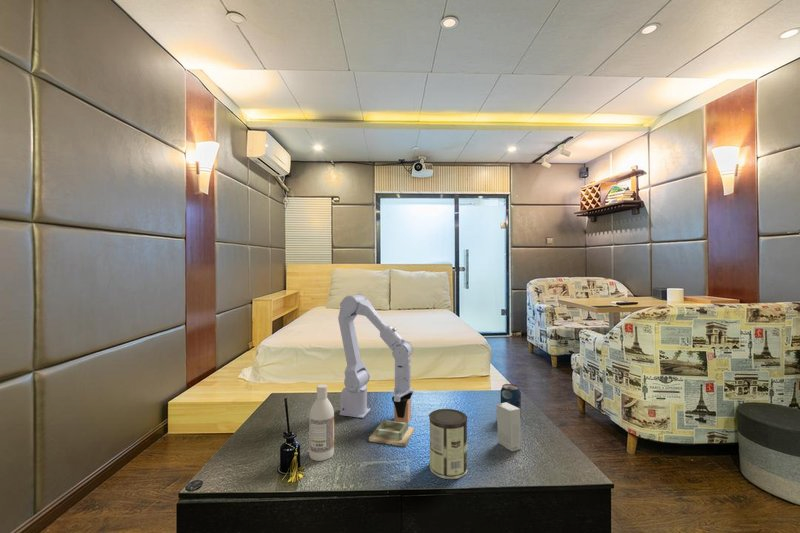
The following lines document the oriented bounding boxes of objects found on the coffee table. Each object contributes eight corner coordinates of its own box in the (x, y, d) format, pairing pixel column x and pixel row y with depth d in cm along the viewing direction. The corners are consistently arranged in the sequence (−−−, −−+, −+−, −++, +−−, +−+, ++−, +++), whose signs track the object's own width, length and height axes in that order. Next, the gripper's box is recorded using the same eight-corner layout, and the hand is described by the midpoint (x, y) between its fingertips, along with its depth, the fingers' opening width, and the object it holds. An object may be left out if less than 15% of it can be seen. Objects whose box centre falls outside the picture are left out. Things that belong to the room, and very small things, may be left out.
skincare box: (522, 449, 103) (522, 408, 103) (510, 452, 101) (510, 411, 101) (507, 439, 109) (507, 401, 109) (496, 443, 107) (496, 403, 107)
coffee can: (446, 453, 101) (446, 405, 101) (475, 469, 93) (475, 416, 93) (421, 467, 94) (421, 415, 94) (450, 485, 86) (450, 428, 86)
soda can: (509, 426, 118) (509, 391, 119) (496, 418, 125) (496, 384, 125) (525, 422, 121) (525, 388, 121) (511, 414, 128) (511, 382, 128)
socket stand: (368, 441, 108) (368, 431, 108) (380, 425, 118) (380, 417, 118) (405, 446, 104) (405, 436, 104) (414, 430, 115) (414, 421, 115)
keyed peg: (394, 421, 122) (394, 401, 122) (397, 416, 126) (397, 397, 126) (407, 423, 120) (407, 403, 120) (410, 418, 124) (410, 399, 124)
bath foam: (335, 459, 98) (336, 388, 98) (310, 463, 95) (310, 391, 95) (331, 447, 104) (332, 380, 104) (308, 451, 102) (308, 383, 102)
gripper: (408, 384, 115) (408, 424, 115) (418, 371, 129) (418, 408, 129) (388, 382, 117) (388, 422, 117) (400, 370, 131) (400, 405, 131)
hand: (402, 414), depth 123 cm, fingers closed on keyed peg, 4 cm apart
